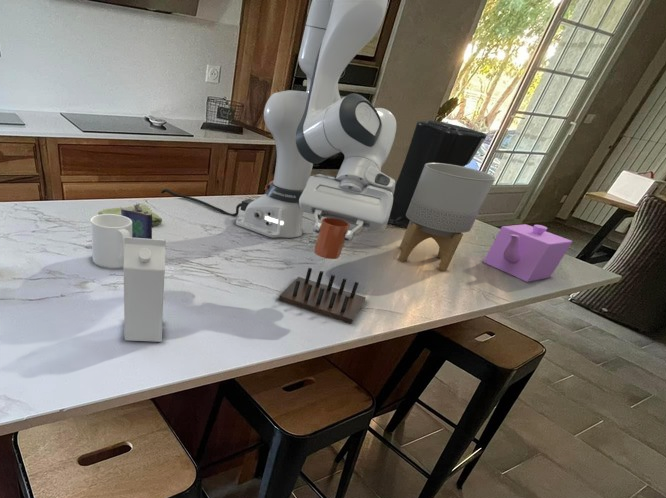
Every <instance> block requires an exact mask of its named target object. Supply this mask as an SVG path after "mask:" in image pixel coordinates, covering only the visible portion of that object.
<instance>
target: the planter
mask: <svg viewBox="0 0 666 498" xmlns="http://www.w3.org/2000/svg"><path fill="white" fill-rule="evenodd" d="M495 180H496V177H495V176H494V175H492V174H490V173H488V172H485V171H483V170H478V169H475V168H471V167H467V166H464V167H462V166H457V165H451V164H444V163H426V164H425V166H424V168H423V171H422V173H421V176H420V179H419V181H418V184H417V187H416V189H415V192H414V194H413V197H412V200H411V202H410V205H409V208H408V210H407V213H406V217H407V218H408V219H409V220H410V222H409V224H408V227H407V228H405V229H406V230H405V232H404V234H403V238H402V239H401V242H400V245H399V248H400V249H401V251H400V253H399V255H398V258H397V259H398V261H400V262H407V260H408V258H409V256H410V254H411V253H412V252H413V251H414V249H415V248H416V247H417V246H418V245H419V244H420V243H422V242H423V241H425V240H427V239H432V240H434V241H435V242H436V244H437V247H438V252H437V254H436V257H438V258H439V259H440V262H439V265H438V268H437V269H438V270H439V271H441V272H446V271H447V270H448V268H449V266H450V264H451V262H452V259H453V257H454V255H455V253H456V251H457V249H458V247H459V245H460V243H461V240H462V239H463V236H464V233H468V232H470V231H471V230H472V229H473V226H474V224H475V221H476V220H477V218H478V215H479V213H480V211H481V209H482V206H483V205H484V203H485V201H486V199H487V197H488V194H489V193H490V190H491V188H492V186H493V184H494V182H495Z"/></svg>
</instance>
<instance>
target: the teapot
mask: <svg viewBox="0 0 666 498" xmlns="http://www.w3.org/2000/svg"><path fill="white" fill-rule="evenodd" d="M547 230H548V227H547V226H545V225H542V224H534V225H533V226H532V225H529V224H526V223H524V224H523V223H522V224H514V225H502V226H501V227H500V229H499V231H498V233H497V235H496V236H495V239H494V241H493V242H492V245H491V246H490V247H489V250H488V252H487V254H486V256H485V257H484V260H483V263H485V264H487V265H489V266H491V267H493V268H495V269H498V270H499V271H502V272H504V273H506V274H509V275H511V276H513V277H514V278H518V279H519V280H522V281H524V282H526V283H528V282H533V281H539V280H543V279H549V278H551V277H552V275H553V273H555V270H556V269H557V267H558V266H559V264H560V263H561V261H562V259H563V258H564V256H565V255H566V253H567V251H569V248H570V247H571V245H572V244H573V240H571V239H568V238H565V237H564V236H563V237H562V236H560V235H557V234H554V233H551V232H549V231H547Z"/></svg>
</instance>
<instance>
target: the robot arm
mask: <svg viewBox="0 0 666 498" xmlns="http://www.w3.org/2000/svg"><path fill="white" fill-rule="evenodd" d="M388 2H389V0H311V4H310V7H309V10H308V14H307V17H306V22H305V26H304V30H303V35H302V40H301V43H300V48H299V52H298V60H297V61H298V65H299V67H300V69H301V71H302V72H303V73H304V74H305V75H306V82H307V84H306V91H301V90H294V89H293V90H292V89H291V90H290V89H287V90H282V91H276V92H274V93H272V94H271V95H270V96H269V98H268V99H267V101H266V103H265V106H264V110H263V120H264V125H265V126H266V128H267V131H269V133H270V134H271V136H272V138H273V140H274V143H275V149H276V160H275V161H276V162H275V169H274V175H273V180H271V181H270V182H269V183H267V184H266V185H264V187H265V188H264V190H265V193H264V194H262V195H261V196H259V197H257V198H256V199H251V198H248V199H244V200H242V201H241V202H240V203H238V204H237V205H236V207H235V212H234V213H230V212H227V211H225V210H224V209H222V208H219V207H217V206H215V205H212V204H210V203H209V202H205V201H203V200H201V199H198V198H195V197H192V196H188V195H185V194H180V193H176V192H173V191H172V190H170V189H168V188H164V189H162V190H160V194H164V193H168V194H170V195H172V196H173V197H177V198H181V199H185V200H189V201H193V202H196V203H199V204H201V205H204V206H206V207H207V208H210V209H212V210H214V211H217V212H219V213H221V214H223V215H227V216H231V217H237V216H238V215H239V211H243V212H244V213H243V214H242V215H240V216H238V217H237V218H236V221H235V225H236V226H238V227H241V228H244V229H247V230H249V231H252V232H255V233H258V234H261V235H263V236H265V237H268V238H272V239H277V238H285V239H286V238H287V239H288V238H291V239H292V238H297V237H300V236H302V235H303V214H304V213H306V214H310V215H313V216H314V225H313V227H312V232H313V233H315V234H319V230H320V226H321V223H322V222H319V221H321V219H322V218H336V219H340V220H343V221H346V222H347V223H349V225H354V226H355V227H354V228H352V229H350V230H349V229H348V230H347V233H346V234H345V237H344V240H345V241H344V242H349V243H351V242H352V240H353V237H354V236H356V235H358V234H359V233H360V232H361V231H363V228H366V229H370V230H373V231H377V232H382V231H383V230H385V229H386V228H387V226H388V225H387V223H388V220H389V217H390V213H391V208H392V204H393V194H394V190H395V185H396V179H394V178H392V177H391V176H388V175H387V174H385V173H384V172H382V167H383V165H384V164H385V163H386V161H387V159H388V158H389V155H390V152H391V151H392V148H393V145H394V142H395V138H396V133H397V120H396V117H395V115H394V114H393V113H392V112H391V111H390V110H388V109H386V108H383V107H375V106H374V105H372V103H371V102H370V101H369V100H368V99H367V98H366V97H364V96H363V95H361V94H358V93H350V94H347V95H345V96H343V97H341V95H340V90H339V81H340V78H341V76H342V75H343V73H344V71H345V70H346V68H347V67H348V65H349V64H350V63H351V62H352V61H353V59H355V57H356V56H357V55H358V54H359V52H360V51H362V49H363V48H365V46H367V44H368V43H370V41H371V40H372V39H373V38H374V37H375V36H376V34H377V33H378V31H379V30H380V28H381V26H382V24H383V21H384V19H385V15H386V13H387V7H388V4H389V3H388ZM339 153H341V154H343V155H344V158H343V161H342V163H341V165H340V167H339V170H338V172H337V174H336V176H335V175H328V174H323V173H321V172H320V173H319V172H318V173H317V174H312V171H313V166H314V165H319V164H320V163H322V162H324V161H326V160H328V159H330V158H331V157H332V156H335V155H337V154H339ZM311 174H312V175H311Z"/></svg>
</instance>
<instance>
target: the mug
mask: <svg viewBox="0 0 666 498" xmlns="http://www.w3.org/2000/svg"><path fill="white" fill-rule="evenodd" d="M89 221H90V237H91V252H92V253H91V254H92V262H93V263H94V264H95V265H96V266H98V267H100V268H104V269H109V270H110V269H111V270H115V269H116V270H117V269H123V265H124V237H131V238H132V220H131V219H130V218H128V217H125V216H122V215H116V214H101V215H99V214H96V215H94V216H92V217H91V218H90V220H89Z"/></svg>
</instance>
